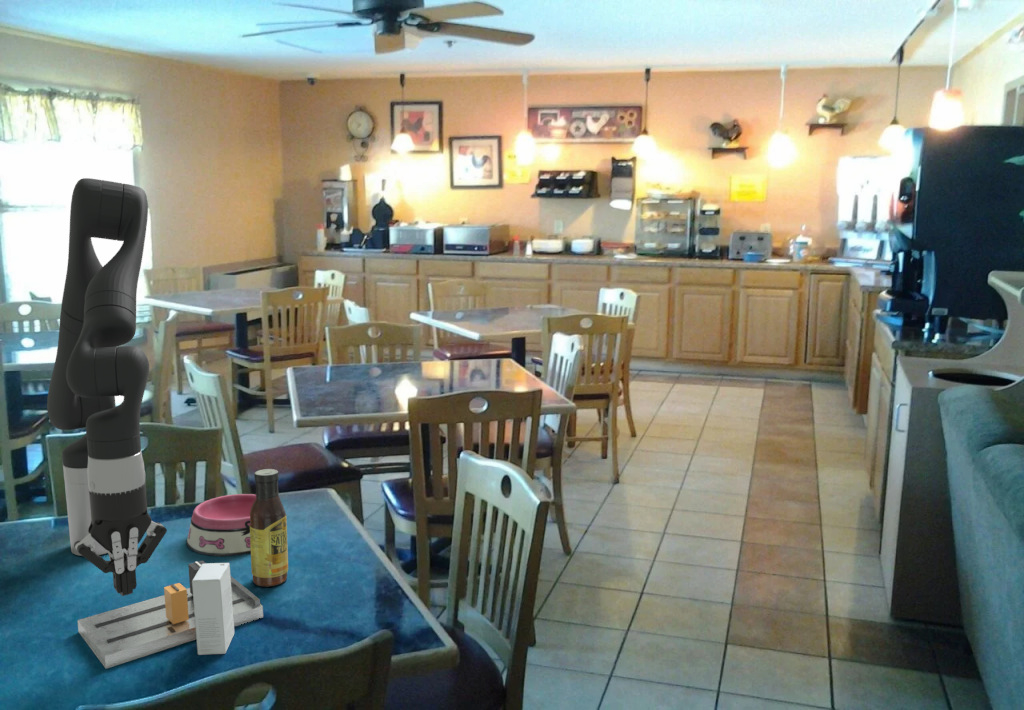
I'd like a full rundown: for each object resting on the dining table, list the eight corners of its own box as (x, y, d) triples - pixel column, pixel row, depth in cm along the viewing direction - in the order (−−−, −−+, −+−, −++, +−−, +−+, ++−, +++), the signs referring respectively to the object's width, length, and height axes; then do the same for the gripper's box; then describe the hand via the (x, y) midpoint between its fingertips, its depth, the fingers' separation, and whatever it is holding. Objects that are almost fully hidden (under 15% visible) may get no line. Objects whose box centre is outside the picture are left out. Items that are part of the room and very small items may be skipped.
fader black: (190, 592, 145) (188, 563, 144) (204, 588, 146) (202, 559, 145) (197, 599, 142) (195, 569, 141) (211, 594, 144) (209, 565, 143)
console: (78, 632, 136) (76, 614, 136) (227, 587, 152) (226, 571, 151) (105, 668, 126) (104, 649, 125) (263, 617, 141) (262, 600, 141)
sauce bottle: (278, 590, 151) (273, 479, 147) (245, 586, 152) (239, 477, 148) (295, 574, 157) (290, 467, 154) (263, 571, 158) (257, 465, 155)
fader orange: (166, 617, 136) (163, 585, 135) (181, 612, 138) (179, 581, 137) (173, 624, 134) (170, 592, 133) (188, 619, 136) (186, 588, 135)
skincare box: (206, 635, 135) (201, 562, 133) (235, 634, 136) (230, 561, 134) (196, 656, 129) (190, 580, 127) (225, 654, 130) (221, 579, 128)
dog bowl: (253, 514, 187) (251, 483, 185) (302, 538, 174) (301, 505, 173) (170, 539, 174) (167, 506, 172) (216, 566, 161) (214, 531, 160)
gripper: (155, 466, 134) (162, 572, 138) (60, 484, 126) (70, 596, 129) (172, 479, 128) (179, 589, 132) (74, 499, 120) (84, 616, 124)
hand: (125, 592), depth 131 cm, fingers closed
